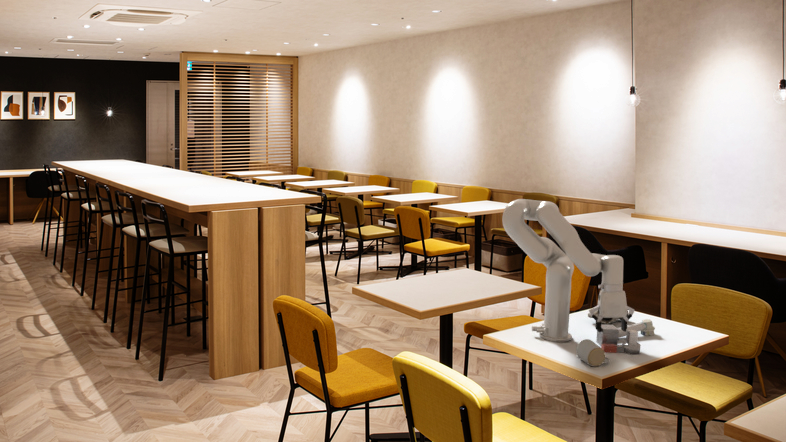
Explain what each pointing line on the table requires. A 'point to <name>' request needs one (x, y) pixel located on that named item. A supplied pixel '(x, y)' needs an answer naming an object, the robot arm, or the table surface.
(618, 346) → the ratchet
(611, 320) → the grey clay vessel
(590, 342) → the ceramic mug
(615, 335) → the brushed grey cube
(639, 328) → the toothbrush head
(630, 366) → the table surface
